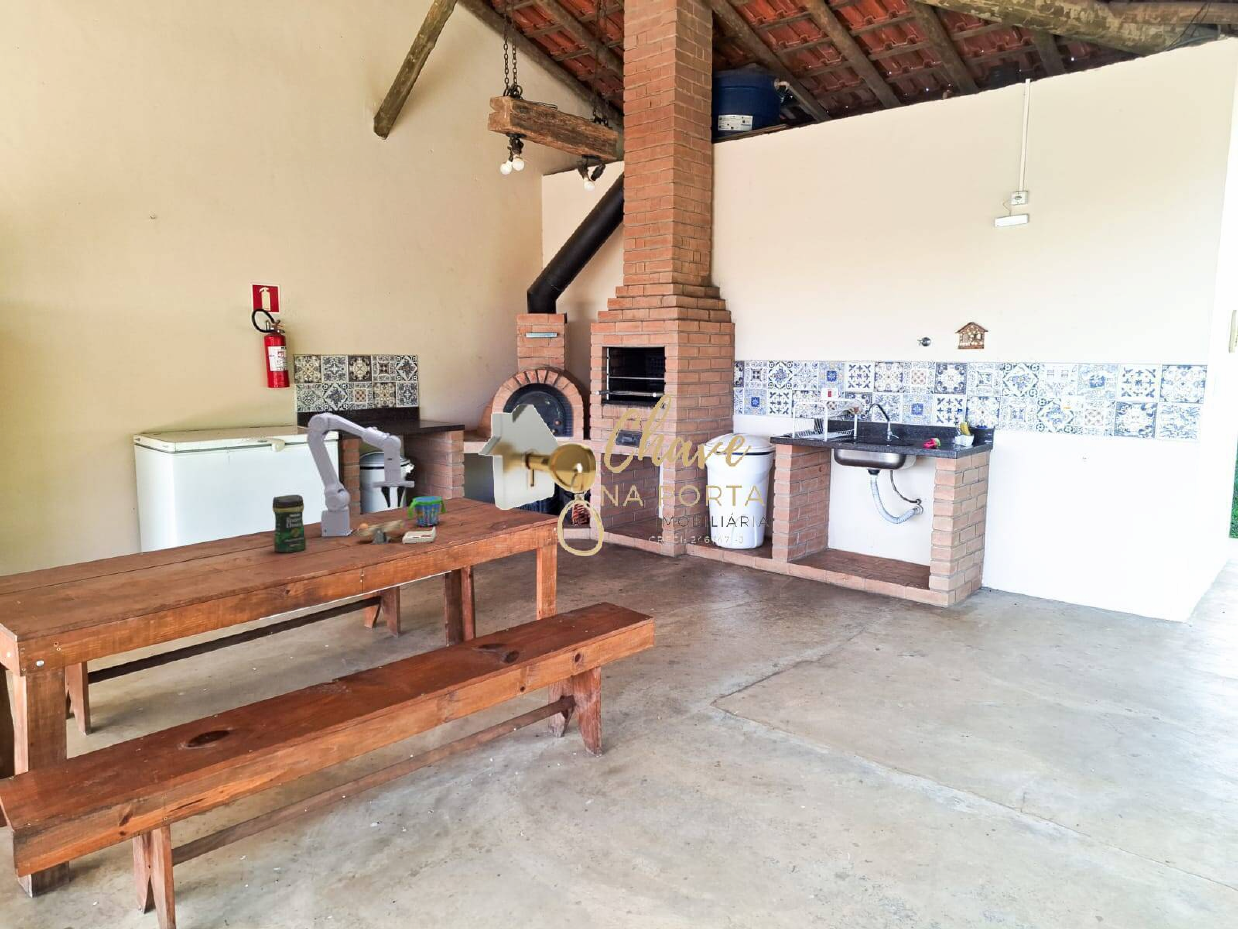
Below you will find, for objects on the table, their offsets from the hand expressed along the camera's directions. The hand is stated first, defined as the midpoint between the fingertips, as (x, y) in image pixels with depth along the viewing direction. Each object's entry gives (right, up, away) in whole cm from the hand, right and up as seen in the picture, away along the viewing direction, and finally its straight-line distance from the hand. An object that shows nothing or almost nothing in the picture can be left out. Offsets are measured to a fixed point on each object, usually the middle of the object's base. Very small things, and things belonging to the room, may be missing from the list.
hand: (394, 507), depth 291 cm
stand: (-2, -11, -10) cm, 15 cm away
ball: (-7, -7, -11) cm, 15 cm away
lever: (-2, -7, -7) cm, 10 cm away
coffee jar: (-29, -13, -22) cm, 38 cm away
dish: (+11, -11, -8) cm, 18 cm away
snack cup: (+8, -8, +16) cm, 20 cm away
